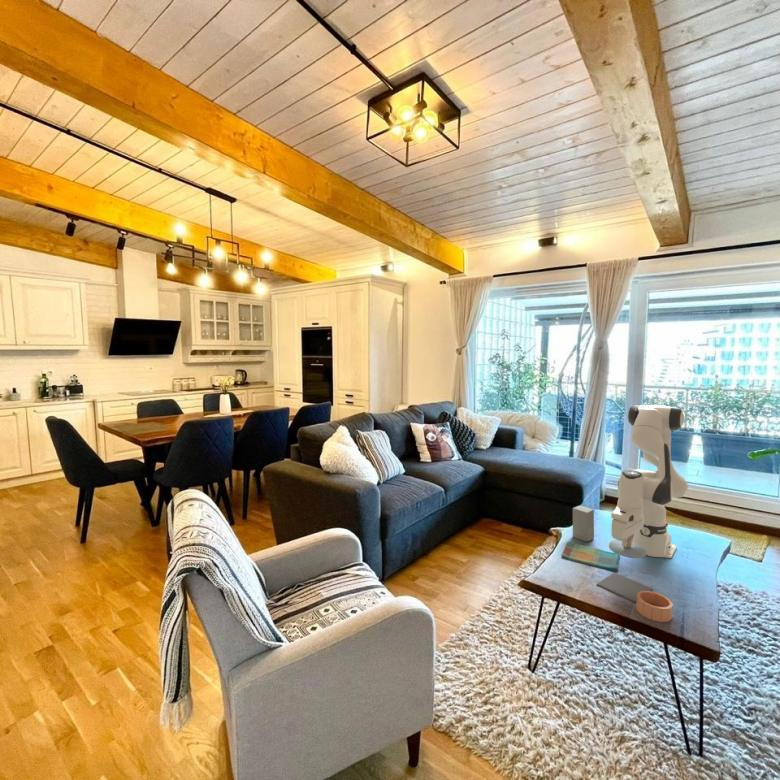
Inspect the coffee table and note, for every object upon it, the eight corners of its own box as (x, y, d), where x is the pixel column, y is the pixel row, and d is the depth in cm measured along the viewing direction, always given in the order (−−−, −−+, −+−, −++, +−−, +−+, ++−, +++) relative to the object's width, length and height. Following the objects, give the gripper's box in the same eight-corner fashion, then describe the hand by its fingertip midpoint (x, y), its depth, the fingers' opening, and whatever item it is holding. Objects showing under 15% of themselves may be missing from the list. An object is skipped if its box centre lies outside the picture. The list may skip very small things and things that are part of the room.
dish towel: (618, 574, 181) (618, 568, 181) (560, 559, 193) (561, 554, 193) (620, 557, 196) (620, 552, 195) (566, 544, 208) (567, 539, 207)
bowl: (644, 599, 161) (645, 587, 161) (676, 614, 153) (677, 601, 152) (630, 610, 155) (631, 597, 155) (663, 625, 146) (664, 612, 146)
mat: (614, 573, 180) (614, 572, 180) (652, 589, 168) (652, 588, 168) (596, 584, 171) (596, 583, 171) (635, 603, 159) (635, 601, 159)
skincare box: (594, 539, 213) (595, 509, 211) (586, 543, 209) (587, 512, 207) (578, 533, 220) (580, 504, 218) (570, 536, 216) (572, 507, 214)
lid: (618, 539, 177) (619, 528, 177) (651, 551, 167) (652, 539, 166) (602, 548, 170) (603, 536, 169) (636, 561, 159) (637, 549, 159)
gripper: (633, 503, 175) (631, 534, 177) (609, 514, 163) (607, 548, 165) (649, 507, 170) (647, 540, 172) (625, 520, 158) (623, 554, 160)
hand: (627, 544), depth 168 cm, fingers closed on lid, 3 cm apart
